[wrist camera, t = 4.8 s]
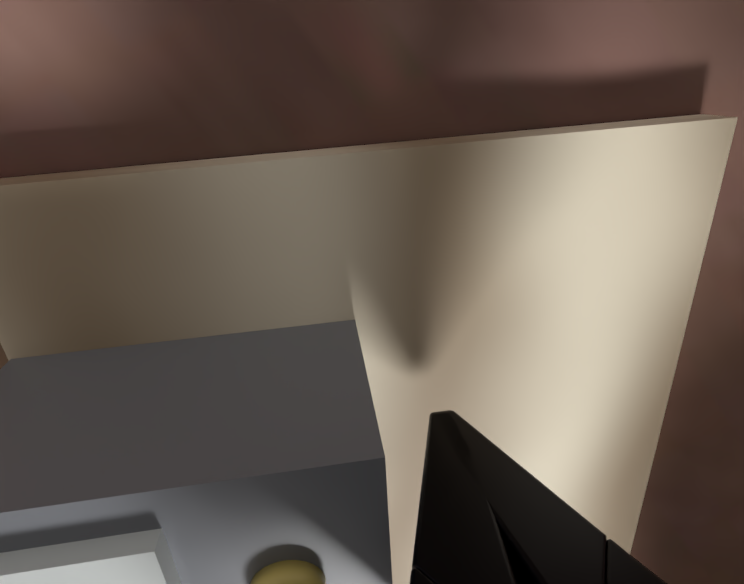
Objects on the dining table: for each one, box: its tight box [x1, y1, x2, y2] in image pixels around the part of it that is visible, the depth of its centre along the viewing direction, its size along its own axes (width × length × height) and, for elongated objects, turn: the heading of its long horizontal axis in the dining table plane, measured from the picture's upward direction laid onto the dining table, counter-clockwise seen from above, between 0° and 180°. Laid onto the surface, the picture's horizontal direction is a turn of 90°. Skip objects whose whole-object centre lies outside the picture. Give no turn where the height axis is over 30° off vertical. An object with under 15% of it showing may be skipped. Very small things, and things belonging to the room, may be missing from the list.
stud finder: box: [0, 320, 393, 584], centre depth 8 cm, size 6×4×4 cm, turn 93°
